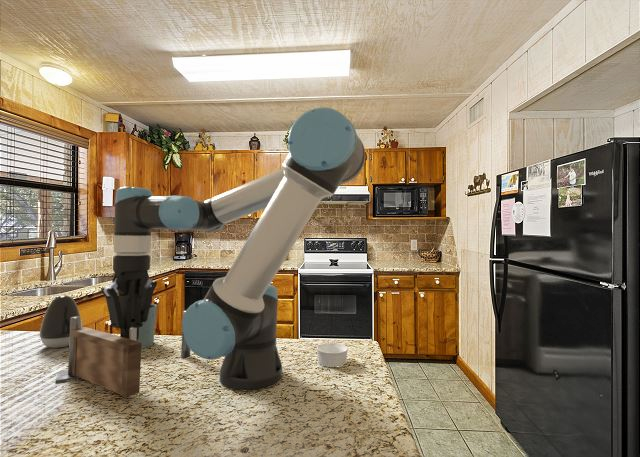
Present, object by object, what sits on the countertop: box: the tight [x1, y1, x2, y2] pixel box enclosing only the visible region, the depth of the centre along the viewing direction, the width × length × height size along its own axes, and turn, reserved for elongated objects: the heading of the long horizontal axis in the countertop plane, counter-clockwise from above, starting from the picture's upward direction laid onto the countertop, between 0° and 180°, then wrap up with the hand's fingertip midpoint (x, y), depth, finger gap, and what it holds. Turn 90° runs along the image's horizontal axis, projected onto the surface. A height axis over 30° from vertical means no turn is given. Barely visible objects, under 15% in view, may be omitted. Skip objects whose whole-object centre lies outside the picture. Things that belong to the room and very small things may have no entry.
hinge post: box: [54, 315, 82, 384], centre depth 79 cm, size 6×6×14 cm
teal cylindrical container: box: [136, 303, 158, 349], centre depth 103 cm, size 10×10×12 cm
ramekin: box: [316, 342, 349, 368], centre depth 92 cm, size 9×9×4 cm
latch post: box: [180, 309, 192, 359], centre depth 93 cm, size 2×2×13 cm
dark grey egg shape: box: [39, 294, 83, 349], centre depth 100 cm, size 10×10×15 cm
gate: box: [72, 326, 142, 399], centre depth 73 cm, size 22×3×11 cm, turn 62°
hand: (129, 355), depth 76 cm, fingers closed
